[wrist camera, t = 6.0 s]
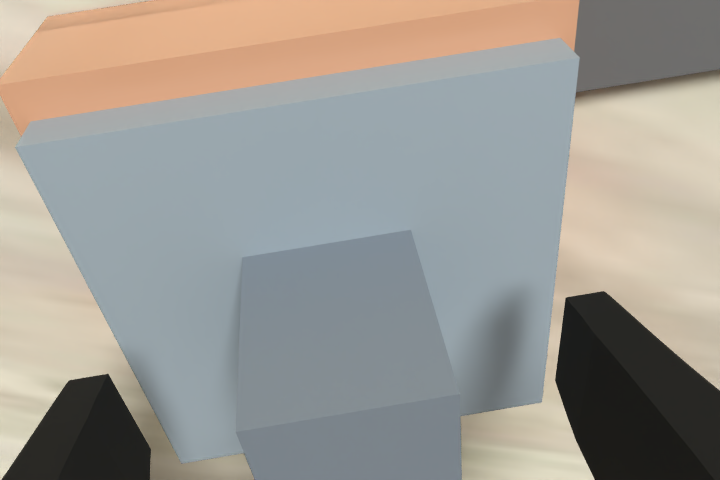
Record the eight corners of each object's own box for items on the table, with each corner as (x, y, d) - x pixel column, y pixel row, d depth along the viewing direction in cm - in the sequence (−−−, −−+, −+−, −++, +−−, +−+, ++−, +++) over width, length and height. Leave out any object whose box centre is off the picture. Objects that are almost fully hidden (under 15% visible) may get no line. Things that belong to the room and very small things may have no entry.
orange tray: (519, -56, 12) (579, -7, 10) (504, 286, 18) (541, 369, 15) (47, 16, 12) (-5, 85, 10) (184, 339, 18) (172, 432, 15)
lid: (530, 375, 16) (606, 557, 12) (184, 434, 15) (161, 635, 12) (560, 37, 10) (709, 191, 7) (30, 121, 10) (-90, 322, 7)
